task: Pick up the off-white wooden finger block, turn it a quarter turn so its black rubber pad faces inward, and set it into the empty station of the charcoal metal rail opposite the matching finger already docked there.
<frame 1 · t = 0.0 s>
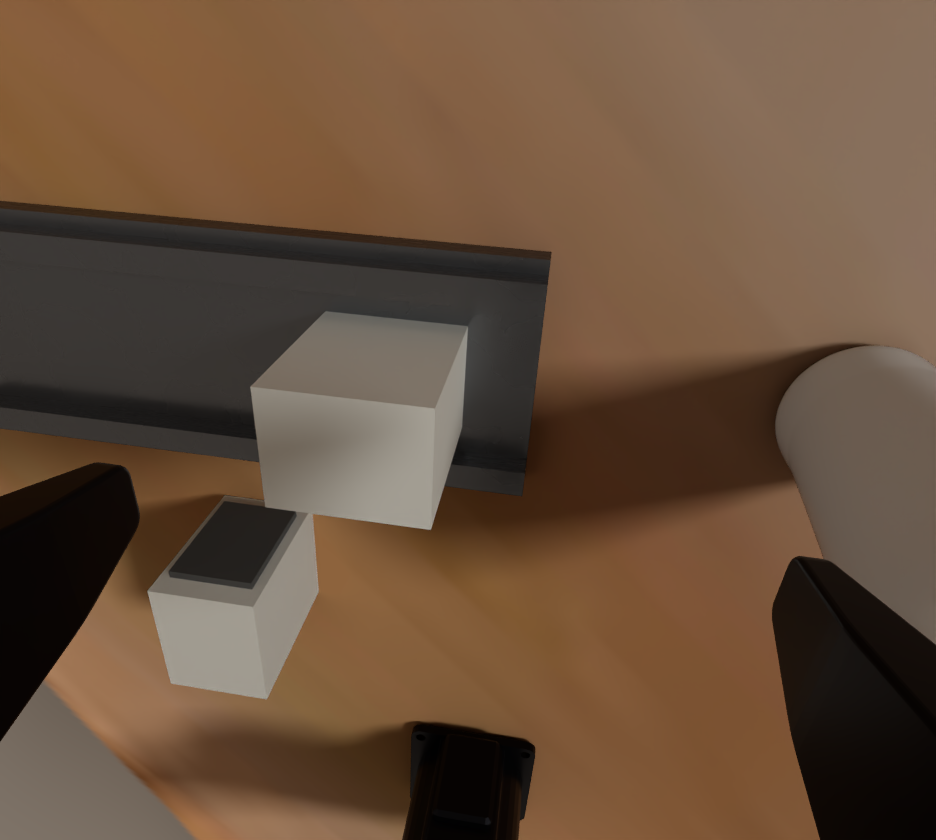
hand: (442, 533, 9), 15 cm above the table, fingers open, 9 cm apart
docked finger: (395, 371, 23), resting on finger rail
finger block: (273, 544, 29), on the table
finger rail: (248, 343, 24), on the table
drinking glass: (850, 407, 23), on the table
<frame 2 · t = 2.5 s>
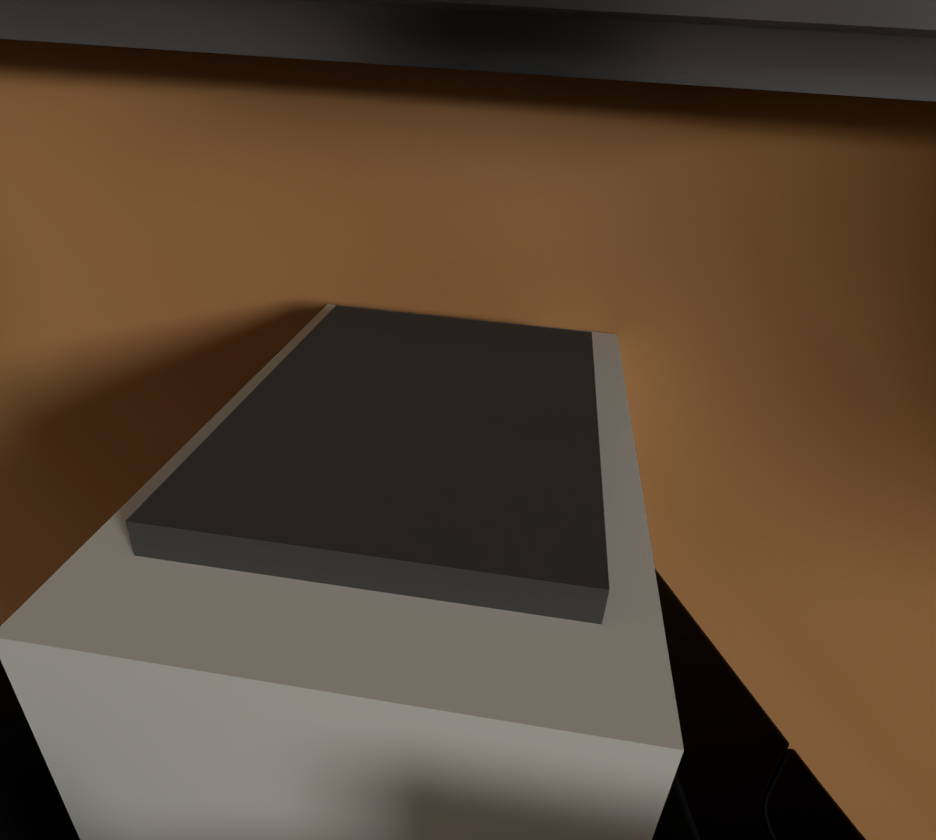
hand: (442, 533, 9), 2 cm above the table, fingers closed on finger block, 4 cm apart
finger block: (460, 470, 10), on the table, touching gripper
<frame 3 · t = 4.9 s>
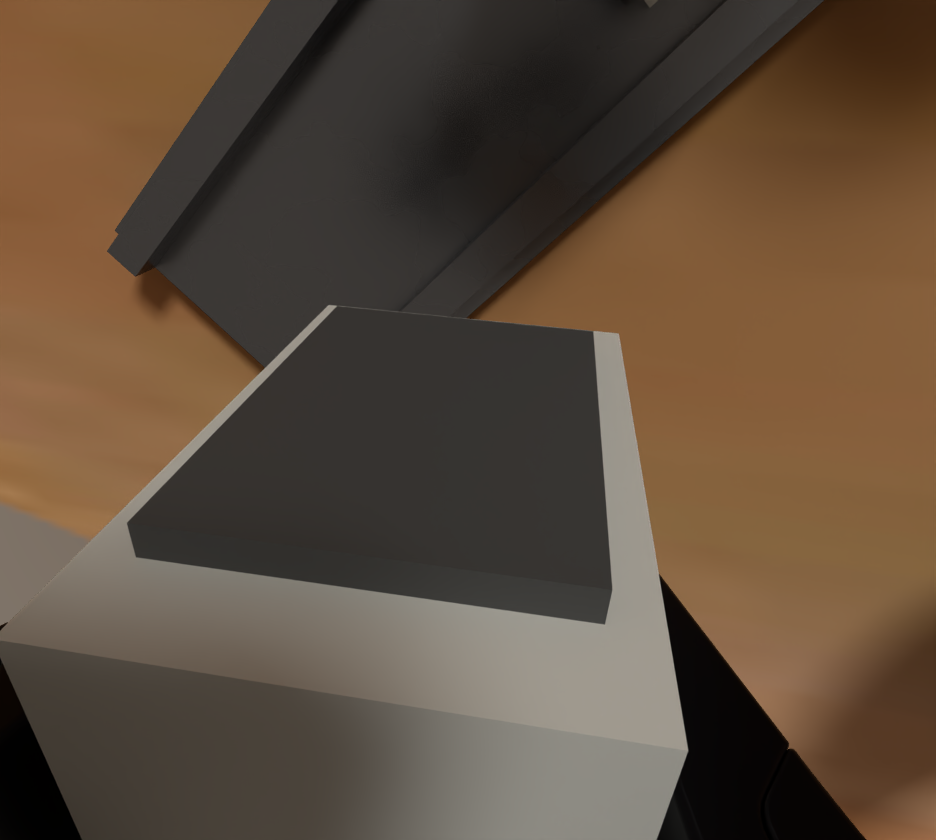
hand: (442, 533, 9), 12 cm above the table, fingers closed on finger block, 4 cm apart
finger block: (462, 471, 10), point 10 cm above the table, touching gripper
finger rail: (484, 59, 16), on the table
when the fingers open (4 cm above the table, at t = 7.5 s): finger block drops 1 cm, resting on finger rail.
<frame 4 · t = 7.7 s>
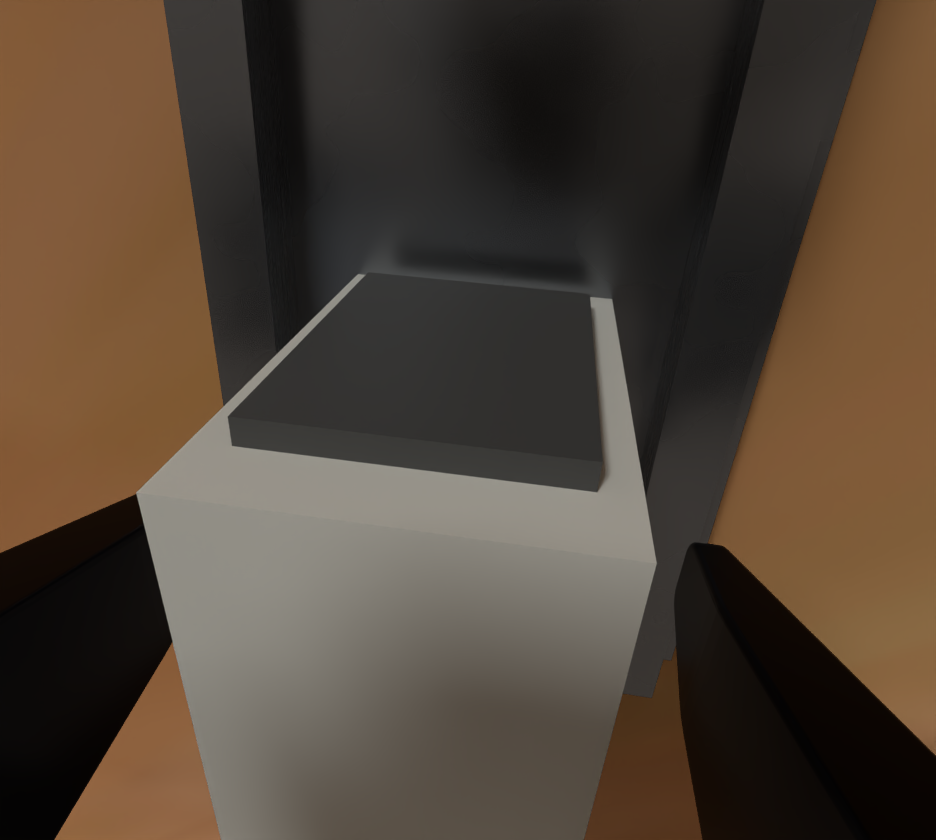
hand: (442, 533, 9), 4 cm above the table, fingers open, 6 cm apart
finger block: (473, 424, 11), point 1 cm above the table, touching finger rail
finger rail: (504, 29, 9), on the table
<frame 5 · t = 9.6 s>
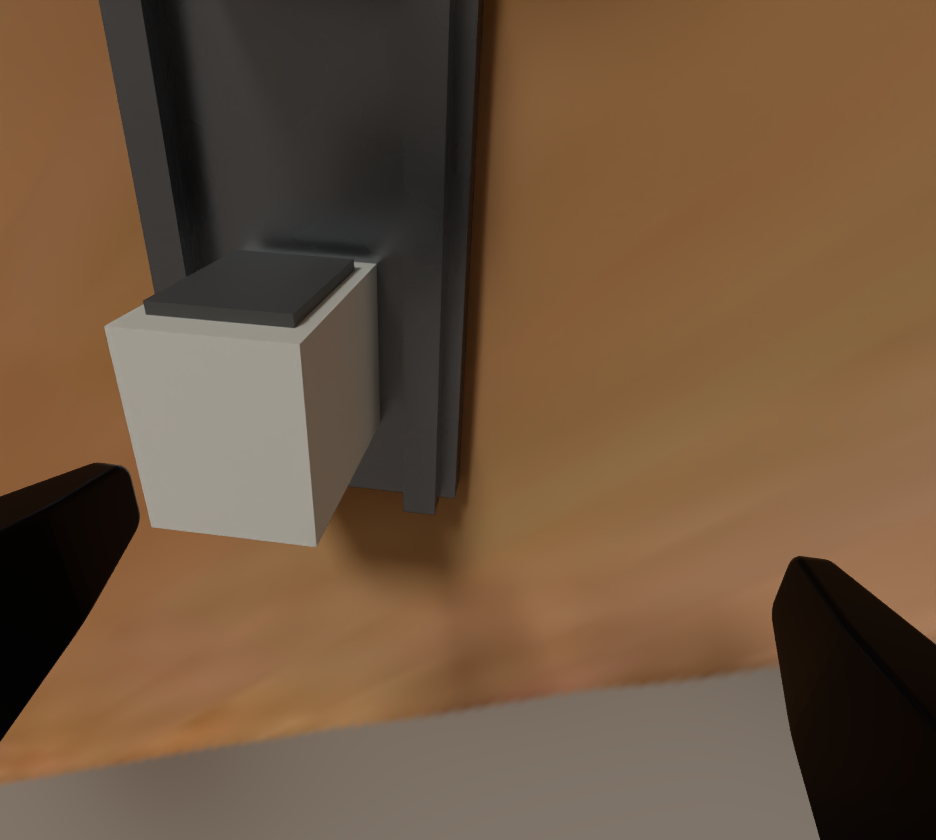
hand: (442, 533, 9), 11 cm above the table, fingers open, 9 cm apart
finger block: (312, 342, 19), point 1 cm above the table, touching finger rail
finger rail: (308, 117, 17), on the table
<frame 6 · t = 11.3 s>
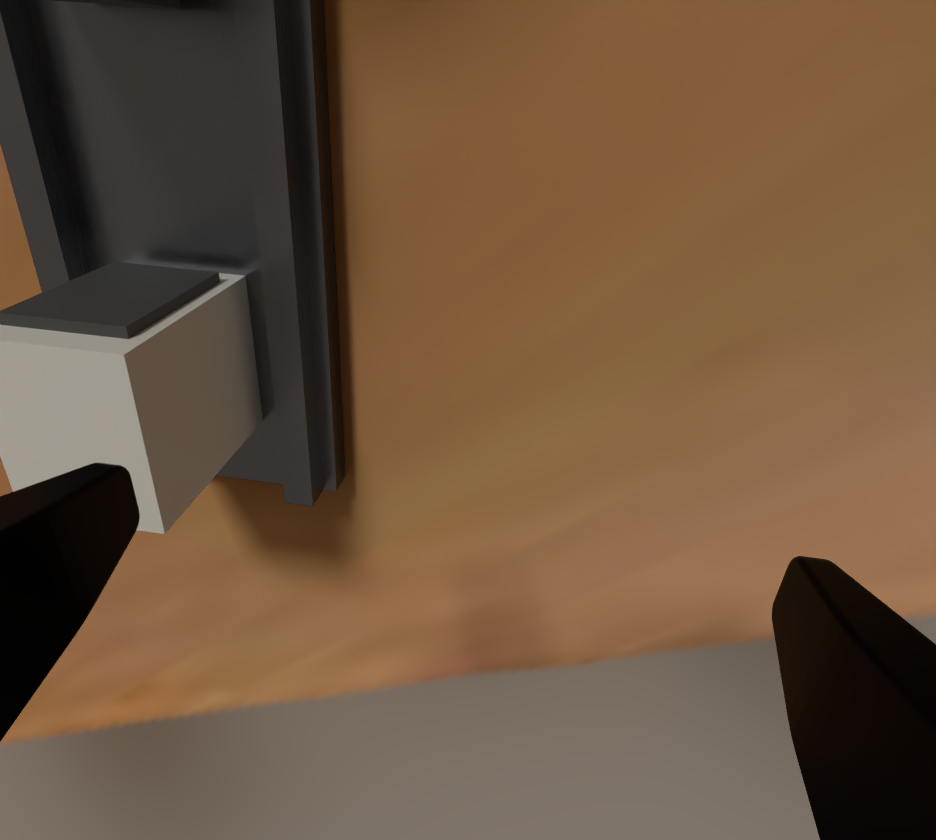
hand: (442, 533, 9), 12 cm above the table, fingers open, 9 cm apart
finger block: (195, 345, 21), point 1 cm above the table, touching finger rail
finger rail: (179, 141, 19), on the table
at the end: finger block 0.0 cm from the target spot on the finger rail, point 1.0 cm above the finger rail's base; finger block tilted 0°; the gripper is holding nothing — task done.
